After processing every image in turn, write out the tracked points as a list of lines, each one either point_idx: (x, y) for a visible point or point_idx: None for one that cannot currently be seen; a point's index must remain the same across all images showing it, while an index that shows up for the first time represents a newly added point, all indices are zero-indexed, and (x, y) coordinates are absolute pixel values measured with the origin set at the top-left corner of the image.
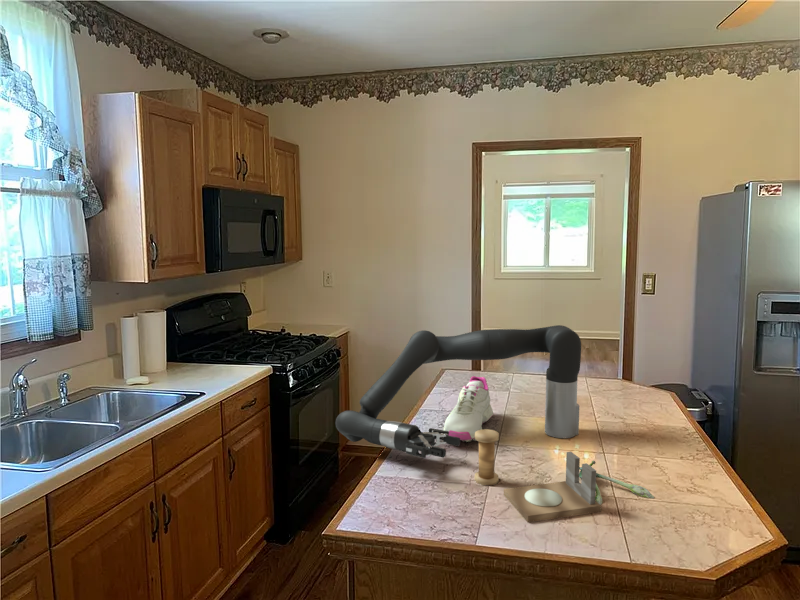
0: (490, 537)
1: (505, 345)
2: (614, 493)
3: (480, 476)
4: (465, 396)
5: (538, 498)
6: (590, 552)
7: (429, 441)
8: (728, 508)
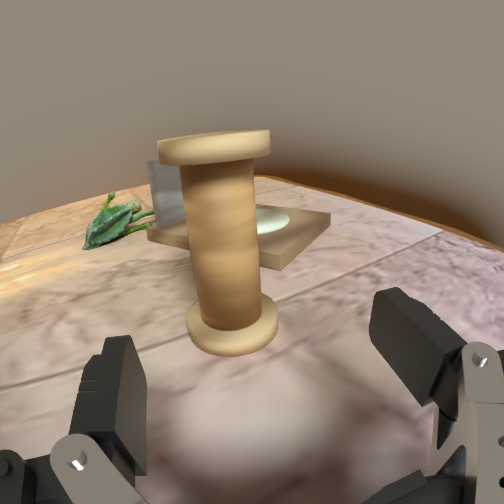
0: (414, 229)
1: None
2: (145, 218)
3: (261, 310)
4: None
5: (264, 220)
6: (317, 194)
7: (411, 474)
8: (133, 191)
